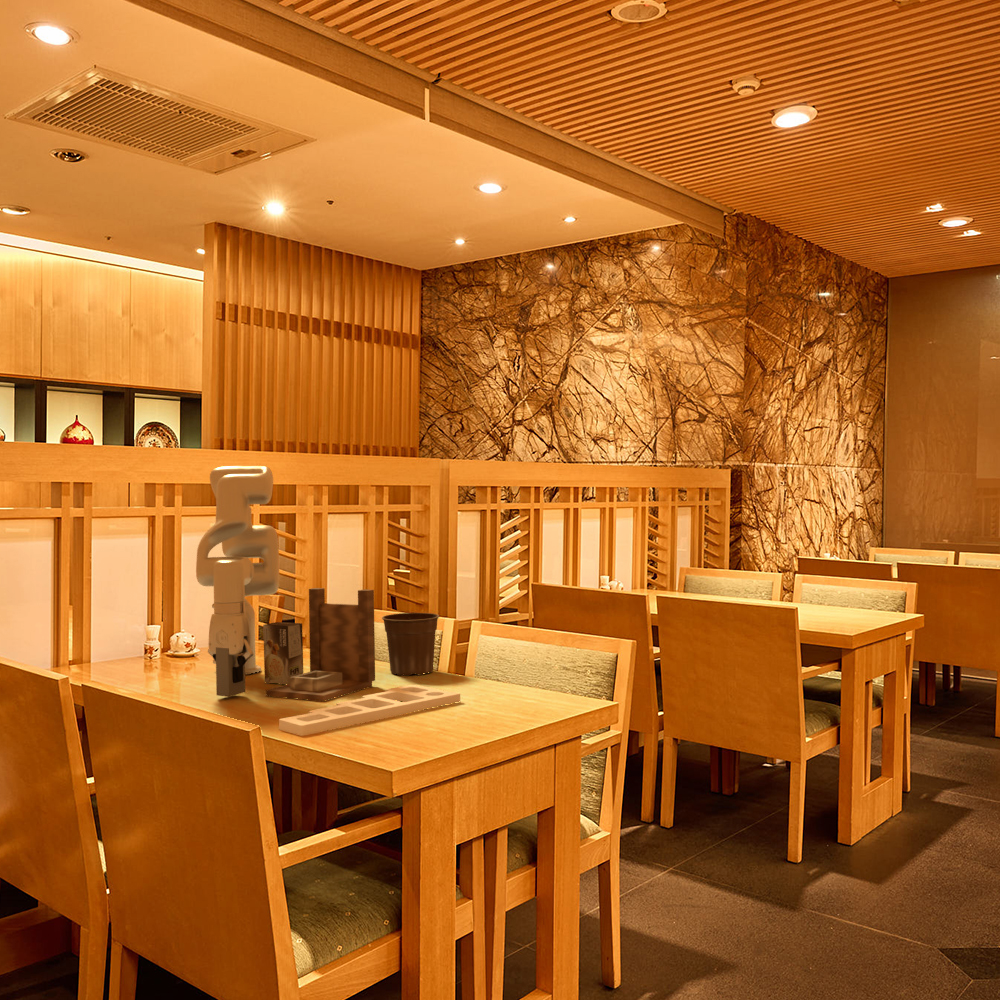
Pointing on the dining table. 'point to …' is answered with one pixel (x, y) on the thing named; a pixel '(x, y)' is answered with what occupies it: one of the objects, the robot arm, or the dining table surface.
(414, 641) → the plant pot
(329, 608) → the wooden display stand
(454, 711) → the dining table surface
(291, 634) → the coffee box
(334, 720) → the holder
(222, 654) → the plain rectangular block
